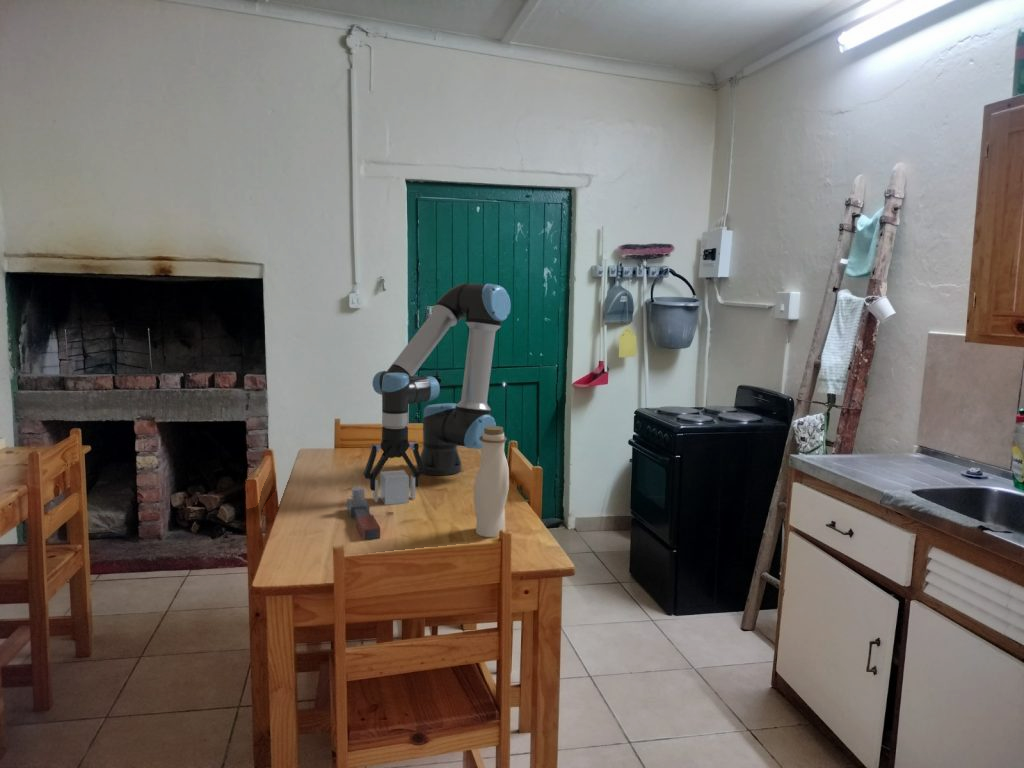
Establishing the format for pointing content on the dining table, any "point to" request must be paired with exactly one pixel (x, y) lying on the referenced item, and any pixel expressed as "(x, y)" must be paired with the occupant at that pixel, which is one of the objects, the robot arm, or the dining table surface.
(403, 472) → the grey stone cube
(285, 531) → the dining table surface
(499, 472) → the water bottle
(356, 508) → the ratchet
